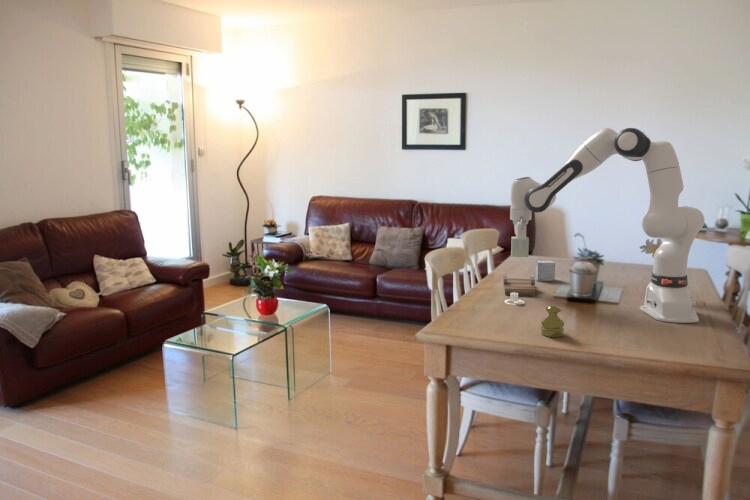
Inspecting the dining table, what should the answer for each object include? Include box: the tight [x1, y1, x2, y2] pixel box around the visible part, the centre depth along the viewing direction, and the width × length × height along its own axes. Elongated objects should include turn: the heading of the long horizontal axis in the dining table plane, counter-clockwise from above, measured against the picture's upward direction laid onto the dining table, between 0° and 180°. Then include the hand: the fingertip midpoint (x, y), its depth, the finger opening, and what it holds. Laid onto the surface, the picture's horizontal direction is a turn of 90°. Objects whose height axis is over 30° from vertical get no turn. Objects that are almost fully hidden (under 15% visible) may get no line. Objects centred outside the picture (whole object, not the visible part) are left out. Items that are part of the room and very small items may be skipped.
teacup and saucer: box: [504, 292, 525, 306], centre depth 232 cm, size 9×8×4 cm
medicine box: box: [535, 260, 556, 282], centre depth 267 cm, size 8×4×9 cm, turn 84°
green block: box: [510, 236, 530, 258], centre depth 247 cm, size 4×7×8 cm, turn 79°
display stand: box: [502, 275, 536, 297], centre depth 250 cm, size 18×13×6 cm
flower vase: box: [639, 238, 663, 288], centre depth 234 cm, size 12×18×24 cm
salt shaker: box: [540, 304, 565, 338], centre depth 193 cm, size 7×7×10 cm
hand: (519, 247), depth 247 cm, fingers closed on green block, 4 cm apart
